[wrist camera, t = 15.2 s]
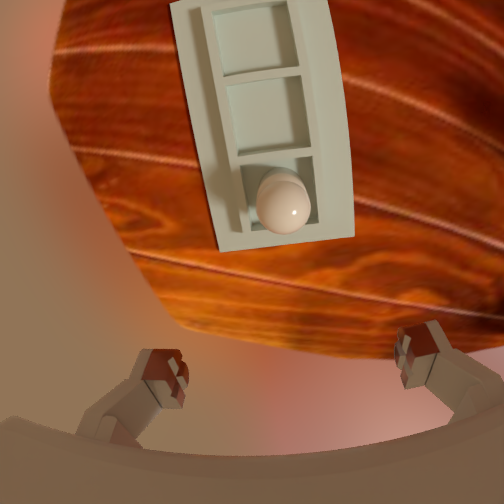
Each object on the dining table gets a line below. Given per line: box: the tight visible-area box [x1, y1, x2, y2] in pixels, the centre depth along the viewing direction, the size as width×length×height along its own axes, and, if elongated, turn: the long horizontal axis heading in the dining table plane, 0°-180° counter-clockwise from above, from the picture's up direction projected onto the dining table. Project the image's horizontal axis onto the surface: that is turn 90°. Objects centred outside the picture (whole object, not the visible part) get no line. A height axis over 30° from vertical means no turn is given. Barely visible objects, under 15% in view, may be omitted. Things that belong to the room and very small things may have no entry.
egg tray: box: [170, 0, 355, 252], centre depth 25 cm, size 26×14×2 cm, turn 9°
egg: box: [256, 167, 311, 235], centre depth 26 cm, size 4×4×7 cm
